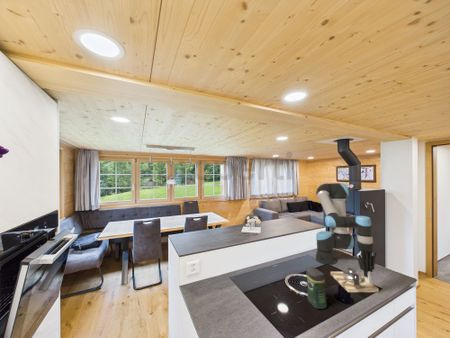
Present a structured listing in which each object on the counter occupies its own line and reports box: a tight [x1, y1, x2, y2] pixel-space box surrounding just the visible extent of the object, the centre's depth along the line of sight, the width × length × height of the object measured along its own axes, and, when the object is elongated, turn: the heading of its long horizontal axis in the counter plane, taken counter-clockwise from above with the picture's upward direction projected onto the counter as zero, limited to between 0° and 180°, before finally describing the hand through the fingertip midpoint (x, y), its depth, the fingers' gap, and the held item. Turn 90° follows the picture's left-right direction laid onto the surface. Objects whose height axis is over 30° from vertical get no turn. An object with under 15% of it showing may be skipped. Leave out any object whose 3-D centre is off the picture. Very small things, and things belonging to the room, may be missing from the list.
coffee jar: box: [305, 266, 328, 310], centre depth 102 cm, size 10×8×19 cm
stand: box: [330, 271, 380, 293], centre depth 120 cm, size 20×18×2 cm
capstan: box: [342, 267, 362, 289], centre depth 116 cm, size 18×10×8 cm, turn 157°
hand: (368, 281), depth 109 cm, fingers closed
